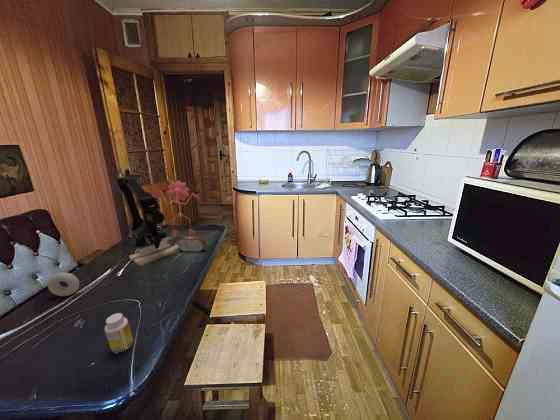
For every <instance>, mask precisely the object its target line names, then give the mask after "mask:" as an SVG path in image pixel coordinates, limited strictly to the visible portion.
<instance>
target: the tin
mask: <svg viewBox="0 0 560 420" xmlns="http://www.w3.org/2000/svg"><path fill="white" fill-rule="evenodd" d="M176 242H177V243H176V244H178V247H179V249H181V250H180V251H182V252H188V253H189V252H192V253H193V252H194V253H196V252H197V253H200V252H202V251H204V249H205V248H206V246H207V242H206V240H205V239H204V237H201V236H198V235H196V236H195V235H191V236H190V235H183V236H181V237H180V238H179V239H178V240H177V241H176Z"/></svg>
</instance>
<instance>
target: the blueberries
mask: <svg viewBox="0 0 560 420" xmlns="http://www.w3.org/2000/svg"><path fill="white" fill-rule="evenodd" d="M86 322H87V320H85V319H84V318H80V319H78V320H77V321H76V322H75V323H74V324H73V326H74V328H73V329H76V328H78V327H79V328H83V327H84V325H85V326H86V324H87V323H86ZM85 323H86V324H85ZM84 328H85V327H84ZM84 328H83V329H84Z"/></svg>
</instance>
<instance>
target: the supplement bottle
mask: <svg viewBox="0 0 560 420" xmlns="http://www.w3.org/2000/svg"><path fill="white" fill-rule="evenodd" d="M105 323H106V325H105V326H104V333H105V336H106V339H107V342H108V344H109V349H110V351H111V352H112V353H113V352H114V354H119V353H118V352H121V353H123V352H125V351H127V350H128V349H129V348H130V347H132V345H133V342H134V339H133V338H134V337H133V335H132V334H133V333H132V330H131V326H130V324H129V321H128V318H126V317H124V316H123V313H121V312H116V313H113V314H112V315H110V316H108V317H107V318H106V320H105ZM126 349H127V350H126ZM124 350H125V351H124ZM122 351H123V352H122Z"/></svg>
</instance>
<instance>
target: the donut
mask: <svg viewBox="0 0 560 420" xmlns="http://www.w3.org/2000/svg"><path fill="white" fill-rule="evenodd" d="M60 282H64V283H66V284H67V286H62V285H61V284H60ZM79 287H80V280H79V278H78V277H77V275H75V274H73V273H69V272H57V273H55V274H54V275H52V276H51V277H50V278H49V279H48V281H47V289H48V290H49V292H51V293H52V294H53V295H55V296H59V297H67V296H71V295H73V294H75V293H76V292H77V291H78V290H79Z"/></svg>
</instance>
